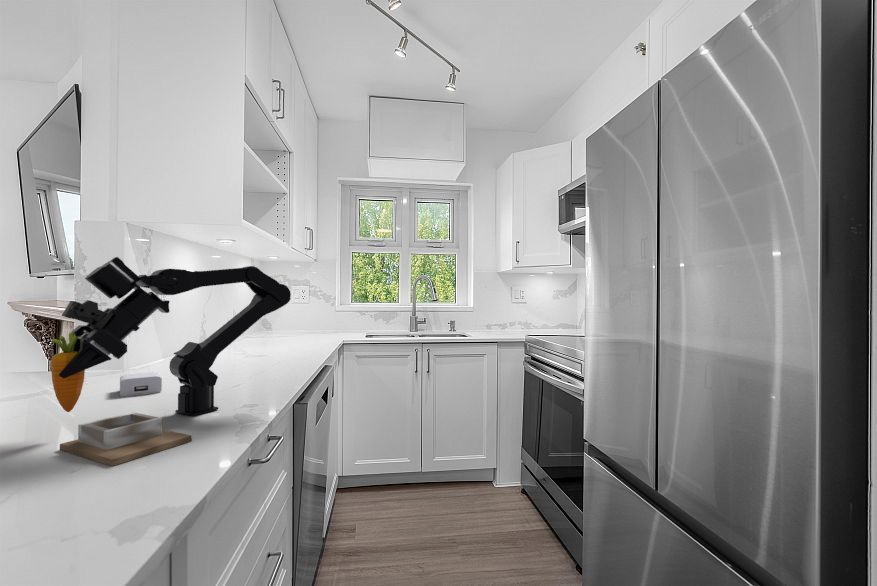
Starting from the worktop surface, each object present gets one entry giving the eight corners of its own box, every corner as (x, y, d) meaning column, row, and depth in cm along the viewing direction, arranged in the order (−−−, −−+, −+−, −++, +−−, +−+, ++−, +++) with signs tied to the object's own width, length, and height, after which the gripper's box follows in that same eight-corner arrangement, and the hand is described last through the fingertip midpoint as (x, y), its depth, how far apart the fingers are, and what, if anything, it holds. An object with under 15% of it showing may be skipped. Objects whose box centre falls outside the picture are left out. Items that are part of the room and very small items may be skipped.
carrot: (64, 415, 79) (64, 333, 79) (43, 415, 80) (43, 334, 80) (92, 409, 84) (91, 332, 84) (71, 408, 85) (71, 332, 85)
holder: (139, 428, 86) (140, 408, 86) (191, 441, 79) (191, 419, 79) (59, 449, 74) (60, 426, 74) (112, 466, 67) (112, 440, 67)
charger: (157, 384, 131) (161, 393, 119) (119, 387, 125) (119, 397, 113) (157, 368, 131) (161, 375, 119) (120, 371, 125) (120, 379, 113)
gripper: (84, 287, 91) (10, 343, 83) (106, 285, 79) (22, 352, 70) (129, 322, 97) (64, 378, 89) (155, 326, 85) (83, 392, 76)
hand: (58, 375), depth 81 cm, fingers closed on carrot, 5 cm apart
